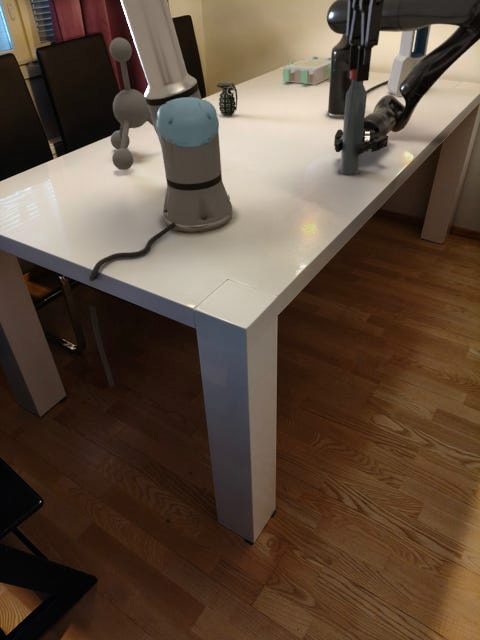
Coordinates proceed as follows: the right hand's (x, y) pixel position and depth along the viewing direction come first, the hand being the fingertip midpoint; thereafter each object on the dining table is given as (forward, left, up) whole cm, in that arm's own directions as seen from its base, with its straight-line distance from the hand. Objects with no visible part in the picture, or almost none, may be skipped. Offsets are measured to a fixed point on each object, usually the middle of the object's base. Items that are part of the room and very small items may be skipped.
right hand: (347, 149), depth 119 cm
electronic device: (-80, +26, -6) cm, 85 cm away
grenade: (-54, -38, -6) cm, 66 cm away
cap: (-2, +1, +17) cm, 17 cm away
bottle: (-2, +1, -6) cm, 7 cm away
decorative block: (-107, -10, -6) cm, 108 cm away
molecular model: (-14, -56, -6) cm, 58 cm away
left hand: (-2, +1, +15) cm, 16 cm away
